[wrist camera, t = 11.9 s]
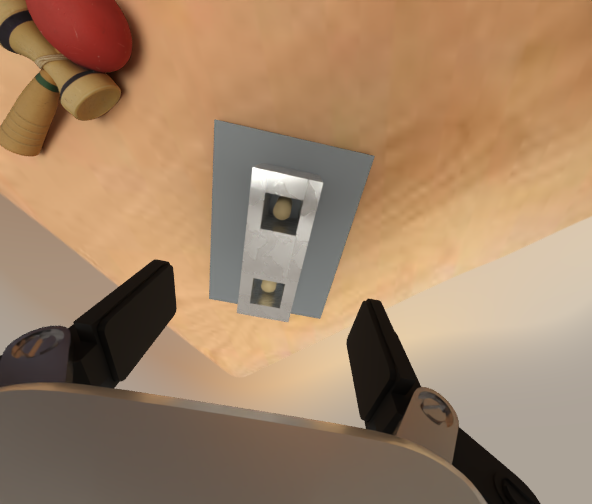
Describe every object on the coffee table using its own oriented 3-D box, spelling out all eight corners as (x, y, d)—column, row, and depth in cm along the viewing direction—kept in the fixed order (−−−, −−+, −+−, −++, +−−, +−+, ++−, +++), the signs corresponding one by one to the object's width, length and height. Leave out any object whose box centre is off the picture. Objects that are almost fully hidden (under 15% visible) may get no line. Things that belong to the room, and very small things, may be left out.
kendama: (84, 176, 27) (168, 59, 19) (11, 180, 21) (90, 16, 14) (36, 117, 25) (107, -34, 18) (-57, 104, 19) (-9, -125, 12)
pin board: (370, 155, 23) (386, 158, 19) (319, 311, 33) (321, 337, 28) (219, 120, 22) (198, 115, 18) (213, 292, 32) (198, 316, 27)
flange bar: (290, 295, 30) (288, 322, 25) (247, 287, 29) (236, 313, 25) (319, 175, 23) (323, 182, 18) (262, 162, 22) (252, 167, 18)
